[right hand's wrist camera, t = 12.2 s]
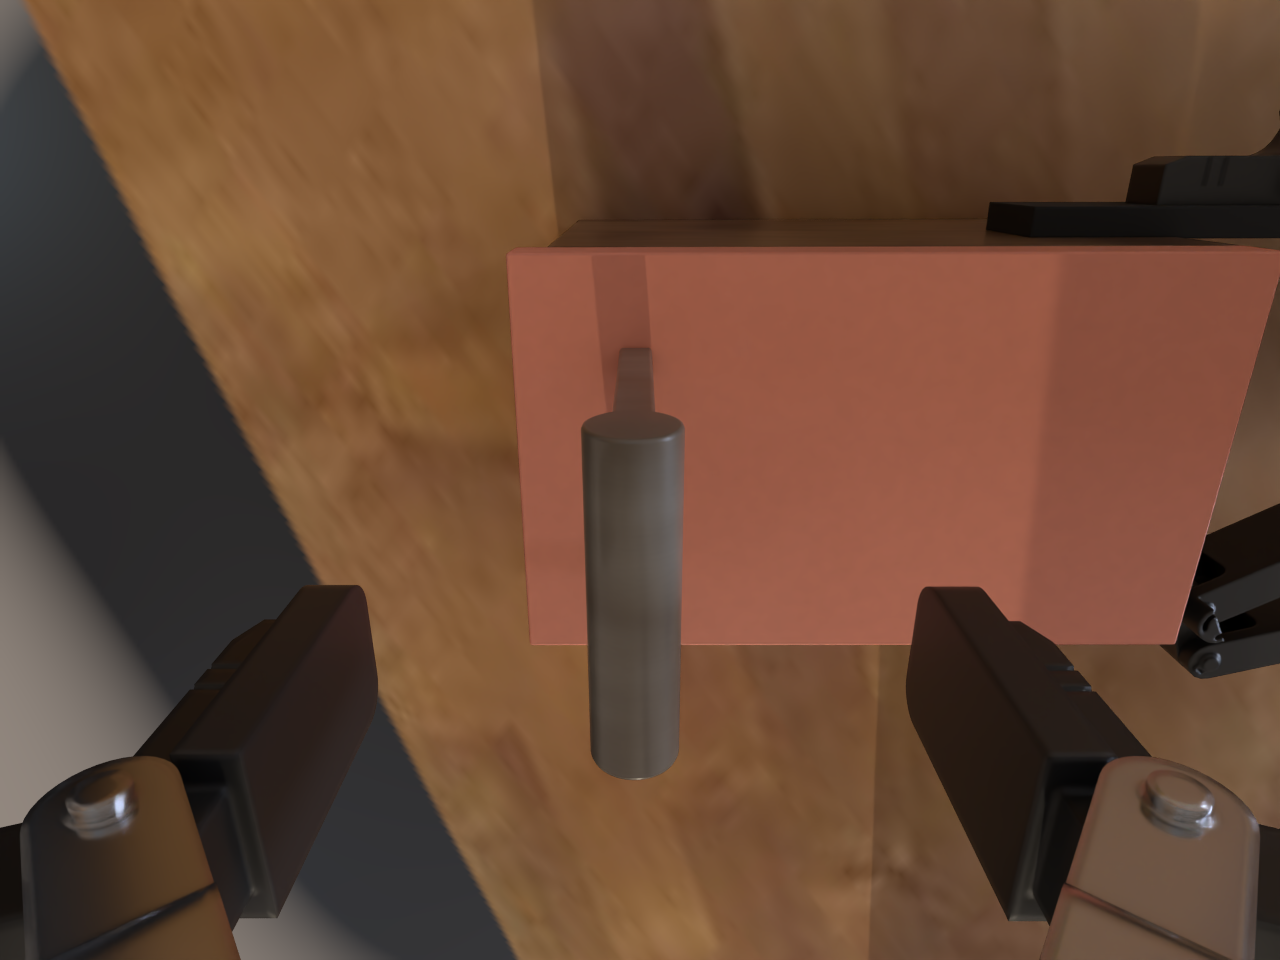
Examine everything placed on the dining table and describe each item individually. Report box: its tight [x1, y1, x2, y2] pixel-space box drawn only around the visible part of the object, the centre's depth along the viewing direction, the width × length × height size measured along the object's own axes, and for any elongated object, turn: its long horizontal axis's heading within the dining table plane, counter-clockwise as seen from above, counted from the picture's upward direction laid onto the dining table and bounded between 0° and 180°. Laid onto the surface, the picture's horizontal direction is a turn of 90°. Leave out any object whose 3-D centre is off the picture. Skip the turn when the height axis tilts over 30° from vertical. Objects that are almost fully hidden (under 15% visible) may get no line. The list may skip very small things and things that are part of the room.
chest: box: [548, 219, 1239, 247], centre depth 24 cm, size 16×10×10 cm, turn 90°
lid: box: [506, 246, 1280, 780], centre depth 16 cm, size 16×10×8 cm, turn 90°
